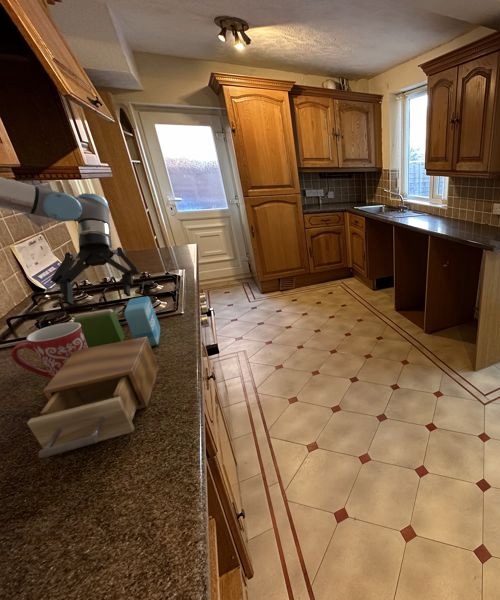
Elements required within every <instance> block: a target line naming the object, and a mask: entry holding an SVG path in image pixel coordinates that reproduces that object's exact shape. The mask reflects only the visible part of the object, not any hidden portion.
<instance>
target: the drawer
mask: <svg viewBox="0 0 500 600" xmlns="http://www.w3.org/2000/svg"><path fill="white" fill-rule="evenodd" d="M138 403H139V398H138V396H137V394H136V391H135V389H134V387H133V384H132V382H131V380H130V377H129V375H125V376H121V377H117V378H112V379H108V380H104V381H99V382H95V383H91V384H86V385H82V386H78V387H73V388H69V389H65V390H60V391H56V392H55V394H54V395H53V397H52V398H51V399H50V401H49V400H48V402H47V403H46V405H45V406H44V407H43V409H42V410H41V412H40V413H39V414H40V416H36V417H32V418H29V419H28V422H26V424H27V426H28V427H29V429H30V430H31V433H32V434H33V435H34V437H35V439H36V440H37V442H38V443H39V445H40V446H41V448H42V449H40V450H39V451H38V458H39V459H41V460H42V459H45V458H49V457H53V456H56V455H60V454H63V453H67V452H69V451H73V450H77V449H79V448H83V447H86V446H91V445H94V444H97V443H98V442H102V441H106V440H109V439H112V438H113V439H114V438H116V437H120V436H123V435H126V434H130V433H133V432H134V431H135V426H134V423H133V419H134V417H135V413H136V411H137V410H136V408H137V406H138Z"/></svg>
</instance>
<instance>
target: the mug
mask: <svg viewBox="0 0 500 600" xmlns="http://www.w3.org/2000/svg"><path fill="white" fill-rule="evenodd" d="M25 339H26V341H27V342H23V343H19V344H16V345H15V346H14V347H13V348H12V350H11V353H10V355H11V358H12V360H13V361H14V363H15V364H17V365H18V366H20V367H21V368H22V369H24V370H27V371H29V372H31V373H33V374H36V375H39V376H42V377H45V378H48V379H51V380H52V379H53V378H54V376H55V375H56V374H57V372H58V371H59V370H60V369H61V367H62V366H63V365H64V364H65V362H66V361H67V360H68V359H69V357H70V356H71V355H72V354H73V352H74V351H75V350H80V349H85V348H88V346H87V343H86V340H85V338H84V335H83V332H82V329H81V324H80V323H75V322H73V321H72V322H63V323H56V324H53V325H52V324H51V325H49V326H46V327H42V328H40V329H37V330H35V331H33V332H31V333H30V334H29V335H27V336H26V338H25ZM21 349H27V350H31V351H33V352H34V353H35V354H36V355H37V356H38V358H39V360H40V361H41V363H42V364H43V366H44V368H45V369H46V370H45V369H43V368H40V367H38V366H35V365H32V364H31V363H28V362H27V361H25V360H24V359H23V358H21V356H20V355H19V350H21Z"/></svg>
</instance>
